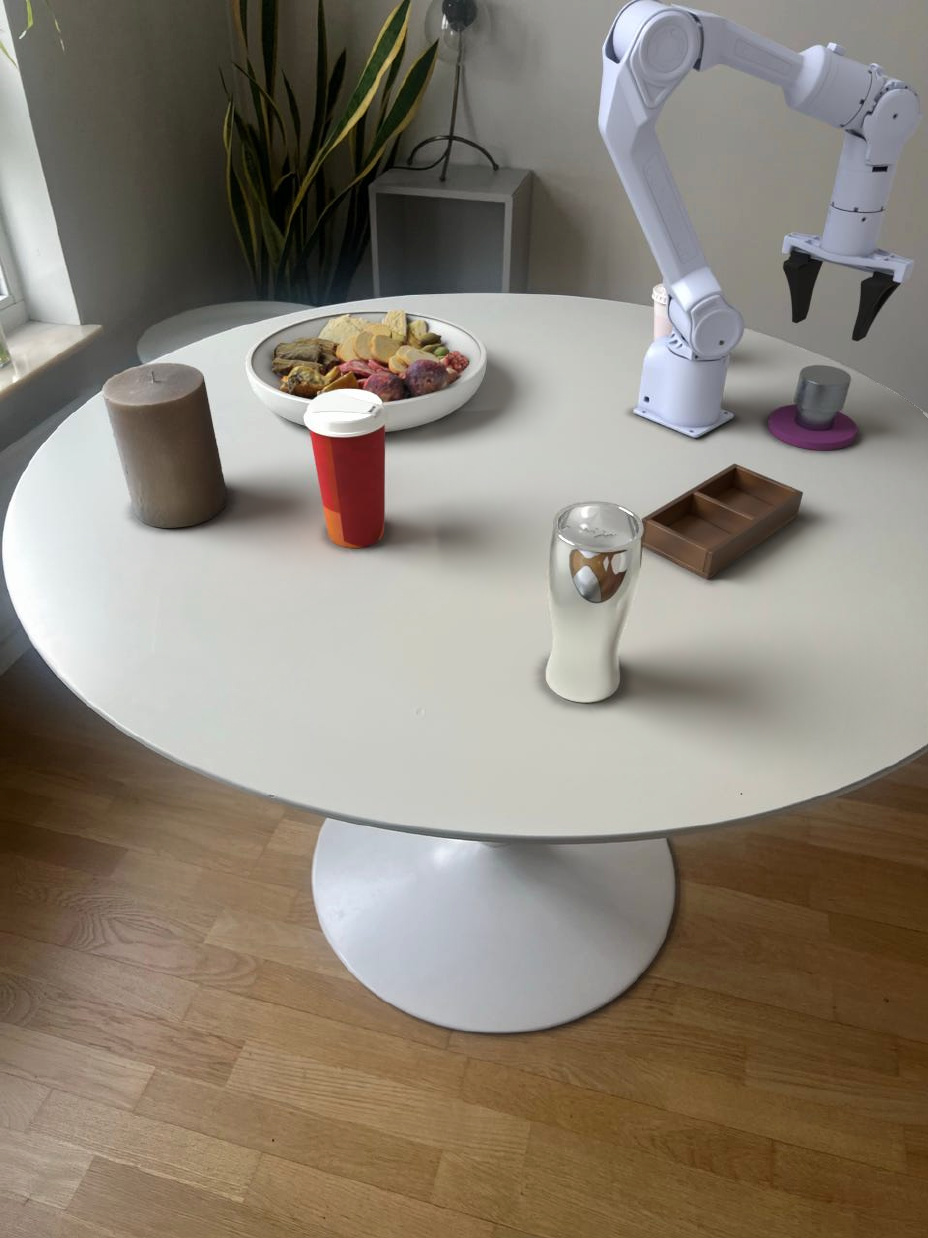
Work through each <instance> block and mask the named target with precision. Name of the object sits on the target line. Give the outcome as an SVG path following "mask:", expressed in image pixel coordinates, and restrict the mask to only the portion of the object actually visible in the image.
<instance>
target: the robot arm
mask: <svg viewBox="0 0 928 1238" xmlns="http://www.w3.org/2000/svg"><path fill="white" fill-rule="evenodd" d="M846 50H847V48H845V47H844V46H842V45H840V44H837V43H835V42H829V43H828V44H827V47H826V46H824V45H822V44H815V45H813V46H810V47H809V48H806V49H805V50H803V51H801V52H796V51H794V50H792V49H790V48H787V46H784V45H782V44H779V43H777V42H775V41H774V40H772V39H769V38H768V37H765V36H763V35H761V34H759V33H757V32H755V31H753V30H751V29H749V28H747V27H745V26H743V25H741V24H739V23H737V22H734V21H733V20H730V19H729V18H727V17H724V16H721V15H718V14H716V13H712V12H709V11H703V10H700V9H696V8H692V7H687V6H684V5H679V4H673V3H671V5H667V4H665V3H663V2H662V1H661V0H630V1H629V2H628V3H626V4H625V5H624V6H623V7H622V8H621V9H620V10H619V11H618V13H617V14H616V16H615V18H614V20H613V23H612V24H611V27H610V29H609V30H608V34H607V36H606V38H605V40H604V43H603V44H602V48H601V52H602V67H603V69H602V80H601V89H600V97H599V108H598V119H597V122H598V123H597V125H598V130H599V133H600V135H601V138H602V140H603V143H604V145H605V147H606V149H607V152H608V154H609V156H610V158H611V162H612V163H613V166H614V168H615V170H616V172H617V174H618V177H619V179H620V181H621V184H622V186H623V188H624V191H625V193H626V196H627V197H628V200H629V202H630V205H631V207H632V209H633V211H634V214H635V216H636V218H637V220H638V224H639V225H640V228H641V229H642V232H643V234H644V236H645V239H646V241H647V243H648V245H649V246H648V247H649V248H650V251H651V253H652V256H653V257H654V259H655V262H656V264H657V266H658V269H659V271H660V273H661V275H662V283H663V286H664V288H665V291H666V294H667V306H666V311H667V316H668V319H669V320H670V322H671V323H672V324H673V325H674V326H673V330H672V333H671V335H670V336H666V335H664V336H661V337H659V338H657V339H656V340H655V341H654V340H653V342H651V344H650V345H649V347H648V349H647V351H646V353H645V356H644V358H643V362H642V368H641V369H642V370H641V375H640V376H641V378H640V384H639V394H638V401H637V406H635V407H634V408H633V414H635V415H637V416H640V417H641V418H642V417H643V418H645V419H647V420H650V421H652V422H654V423H657V424H660V425H662V426H664V427H667V428H670V429H672V430H674V431H676V432H679V433H681V434H684V435H686V436H689V437H691V438H694V439H695V438H697V439H698V438H699V437H701V436H703V435H705V434H707V433H708V432H710V431H712V430H714V429H715V428H717V427H719V426H721V425H723V424H725V423H726V422H728V421H730V420H732V419H733V418H734V416H735V415H734V413H733V412H730V411H727V410H725V409H723V408H722V402H723V396H724V391H725V386H726V379H727V376H728V375H727V374H728V369H729V364H730V358H731V353H732V351H733V350H734V349H736V347H738V345H739V344H740V342H741V340H742V338H743V336H744V333H745V328H746V327H745V325H746V324H745V319H744V315H743V314H742V312H741V310H740V309H739V308H738V307H736V306H735V305H734V304H733V303H731V302H730V301H729V300H728V298H727V297H726V296H725V293H724V291H723V288H722V286H721V284H720V283H719V281H718V279H717V278H716V276H715V274H714V273H713V270H712V269H711V267H710V265H709V263H708V261H707V258H706V256H705V253H704V250H703V248H702V245H701V243H700V241H699V238H698V236H697V233H696V230H695V227H694V225H693V223H692V221H691V217H690V215H689V213H688V211H687V207H686V205H685V203H684V200H683V197H682V196H681V193H680V190H679V188H678V185H677V182H676V180H675V178H674V175H673V173H672V171H671V168H670V165H669V163H668V160H667V158H666V156H665V152H664V150H663V147H662V146H661V143H660V140H659V138H658V136H657V132H656V130H655V127H656V124H657V123H658V122H657V121H658V119H659V117H660V115H661V112H662V111H663V109H664V106H665V104H666V102H667V101H668V100H669V99H670V97H671V96H672V95H673V94H674V93H675V92H676V90H677V89H678V87H680V85H681V84H682V83H683V81H684V80H685V79H686V78H687V77H688V75H689V74H690V72H691V71H692V70H694V71H696V72H698V73H703V72H705V71H708V70H710V69H711V68H714V67H716V66H717V65H723V66H726V67H729V68H731V69H734V70H737V71H739V72H741V73H744V74H746V75H749V76H752V77H754V78H757V79H760V80H762V81H764V82H767V83H770V84H772V85H775V86H777V87H780V88H781V89H782V93H783V97H784V101H785V104H786V106H787V107H788V108H789V109H790V110H793V111H796V112H798V113H801V114H802V115H805V116H808V117H809V118H812V119H814V120H817V121H818V122H821V123H824V124H826V125H829V126H831V127H833V128H836V129H838V130H842V131H843V132H844V133H845V134H844V139H843V144H842V148H841V152H840V157H839V160H838V165H837V170H836V174H835V178H834V183H833V189H832V191H831V198H830V201H829V206H828V211H827V215H826V219H825V220H826V221H825V224H824V229H823V233H822V236H821V235H814V234H813V235H811V234H805V233H800V232H795V231H794V232H791V233H788V234H786V235H785V236H784V239H783V243H782V249H781V254H785V255H789V256H788V258H787V259H786V260H784V261H783V263H782V270H783V272H784V275H785V278H786V280H787V285H788V289H789V294H790V301H791V322H792V323H794V324H799V323H800V322H802V321H805V320H806V319H807V317H808V314H809V311H810V308H811V307H810V306H811V302H812V297H813V293H814V289H815V285H816V283H817V280H818V276H819V273H820V271H821V269H822V267H823V264H824V263H828V264H832V265H838V266H840V267H844V268H848V269H853V270H857V271H860V272H864V273H869V274H872V276H869V277H867V278H865V279H863V280H861V282H860V293H859V304H858V311H857V316H856V319H855V323H854V325H853V330H852V333H851V334H852V335H851V341H855V342H859V341H861V340H863V339H865V338H866V337H867V335H868V333H869V331H870V329H871V327H872V325H873V323H874V321H875V319H876V318H877V316H878V314H879V313H880V311H881V310H882V308H883V306H884V305H885V304H886V302H888V300H889V298H890V297H891V296H892V295H893V293H894V292H895V291H896V290H897V289H898V288H899V286H901V284H903V283H904V282H907V281H909V280H910V279H911V277H912V274H913V270H914V267H915V260H913V259H909V258H906V257H904V256H900V255H898V254H895V253H892V252H890V251H888V250H885V249H883V248H880V247H877V245H878V242H879V241H878V240H879V237H880V233H881V230H882V225H883V221H884V217H885V213H886V211H887V206H888V202H889V199H890V196H891V191H892V187H893V184H894V180H895V175H896V172H897V168H898V163H899V160H900V159H901V156H902V153H903V149H904V147H905V144H906V143H907V141H908V140H910V138H911V137H912V136H913V135H914V134H915V132H916V131H917V130H918V128H919V126H920V124H921V122H922V120H923V117H924V113H921V111H920V109H921V101H920V95H919V94H917V92H918V91H917V89H916V88H915V87H914V86H913V85H912V84H910V83H908V82H905V81H902V80H899V79H897V78H895V77H891V76H888V75H886V74H884V72H885V67H884V66H882V65H879V64H877V63H875V62H872V63H870V65H869V66H868V65H866V64H863V63H861V62H859V61H856V60H855V59H852V58H850V57H848V56H846V55H845V52H846Z"/></svg>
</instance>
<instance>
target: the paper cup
mask: <svg viewBox="0 0 928 1238" xmlns="http://www.w3.org/2000/svg"><path fill="white" fill-rule="evenodd" d="M304 420H305V424H306V426H305V427H307V428H308V430H309V435H310V441H311V446H312V452H313V456H314V458H313V459H314V463H315V468H316V474H317V480H318V487H319V491H320V497H321V503H322V508H323V513H324V519H325V523H326V530H327V533H328V537H329V539H330V541H331V542H332V543H334V544H335V545H337V546H339V547H343V548H347V549H361V548H367V547H370V546H373V545H374V544H377V543H378V542H379V541H380V540H382V538H383V536H384V534H385V516H386V515H385V513H386V512H385V511H386V509H385V507H386V506H385V505H386V497H385V496H386V432H385V423H386V422H387V420H388V413H387V411H386V409H385V408H384V406H383V403H382V401H381V399H380V398H379V397H378V396H377V395H375V394H373V393H371V392H368V391H364V390H359V389H339V390H334V391H330V392H326V393H323V394H321V395H319V396H317V397H316V398H314V399H313V400H312V401H311V403H310V404H309V406H308V407H307V412H306V413H305V415H304Z"/></svg>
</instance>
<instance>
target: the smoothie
mask: <svg viewBox="0 0 928 1238" xmlns="http://www.w3.org/2000/svg"><path fill="white" fill-rule="evenodd" d="M651 298H652V299H653V313H654V314H653V342H654V341H655V340H656V339H657V338H659V337H661V336H664V335H666V336H670V335H671V333H672V330H673V326H674V325H673V324H672V323H671V322H670V320H669V319H668V316H667V311H666V306H667V294H666V291H665V288H664V286H663V282H662V283H659V284H656V285H655V286H654V287H652V294H651Z"/></svg>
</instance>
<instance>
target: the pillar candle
mask: <svg viewBox="0 0 928 1238" xmlns="http://www.w3.org/2000/svg"><path fill="white" fill-rule="evenodd" d="M101 393H102V395H101V396H102V397H103V400H104V404H105V407H106V408H105V409H106V411H107V415H108V417H109V423H110V425H111V428H112V435H113V438H114V441H115V445H116V449H117V452H118V457H119V460H120V464H121V468H122V471H123V476H124V479H125V483H126V486H127V490H128V495H129V497H130V501H131V506H132V509H133V511H134V514H135V516H136V518H137V519H138V520H139V521H140V522H141V523H143V524H145V525H148V526H151V527H156V528H162V529H167V528H168V529H174V528H182V527H192V526H197V525H199V524H203V523H205V522H207V521H210V520H212V519H213V518H214V517H216V516H217V515H218V514H220V513H221V512H222V511H223V510H224V508H225V507H226V506H227V504H228V500H227V499H228V498H227V496H228V493H227V492H228V491H227V486H226V482H225V476H224V472H223V466H222V461H221V457H220V452H219V451H220V450H219V447H218V442H217V438H216V437H217V436H216V432H215V427H214V423H213V416H212V412H211V406H210V401H209V395H208V390H207V385H206V380H205V376H204V374H203V373H202V371H201V370H199V369H198V368H197V367H194V366H192V365H187V364H184V363H178V362H177V363H176V362H156V363H149V364H141V365H138V366H133V367H130V368H128V369H125V370H123V371H121V372H120V373H117V374H114V375H113V376H112V377H110V378H109V379H107V381H106V382H105V383H104V384H103V385H102V389H101Z"/></svg>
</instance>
